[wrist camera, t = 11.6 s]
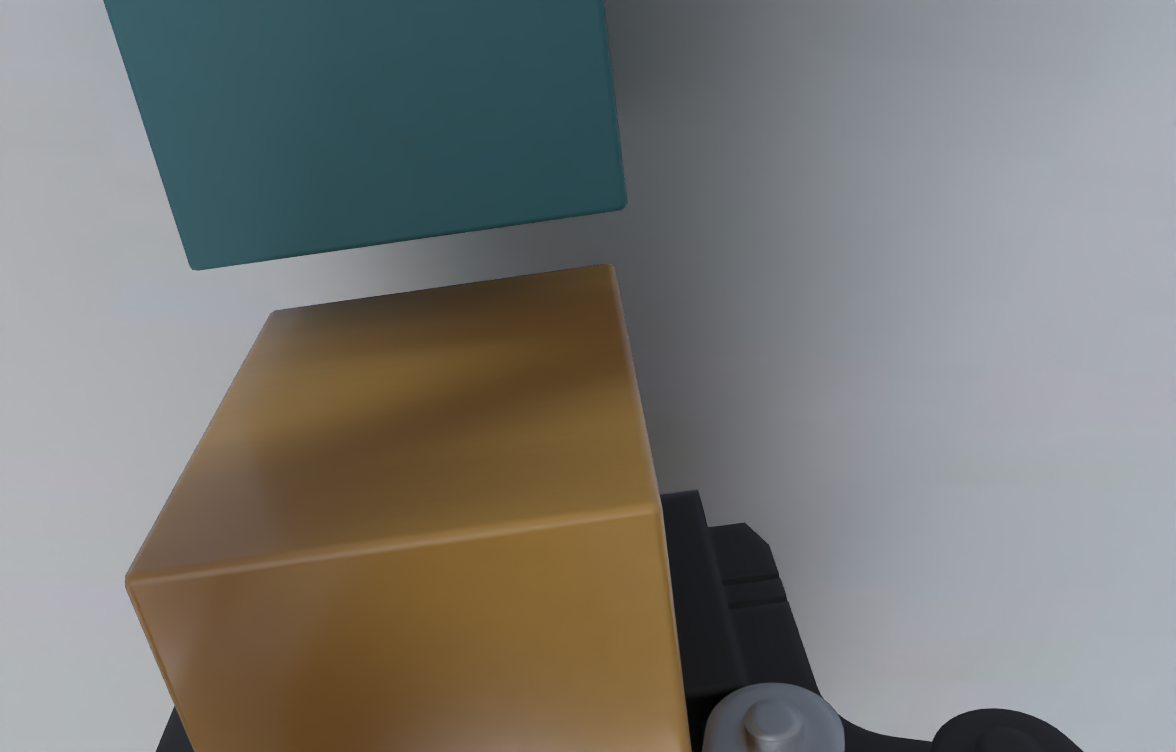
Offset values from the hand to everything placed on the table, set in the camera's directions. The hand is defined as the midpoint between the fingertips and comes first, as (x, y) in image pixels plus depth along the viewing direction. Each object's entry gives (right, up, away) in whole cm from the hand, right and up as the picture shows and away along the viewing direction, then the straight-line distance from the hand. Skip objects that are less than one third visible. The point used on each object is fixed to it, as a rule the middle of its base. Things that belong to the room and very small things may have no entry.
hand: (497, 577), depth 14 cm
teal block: (-1, +8, 0) cm, 8 cm away
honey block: (0, 0, 0) cm, 0 cm away
